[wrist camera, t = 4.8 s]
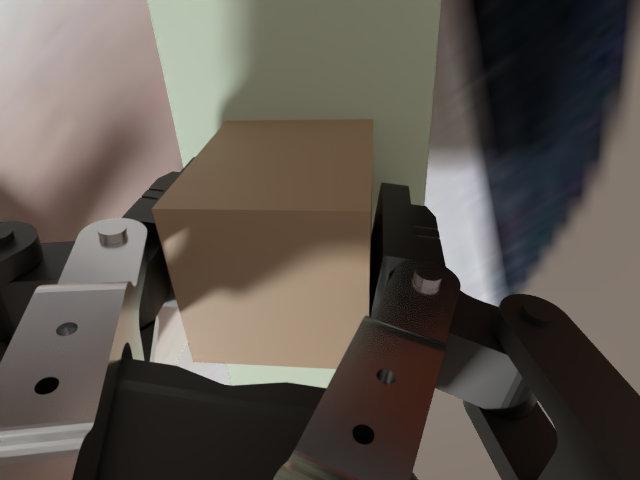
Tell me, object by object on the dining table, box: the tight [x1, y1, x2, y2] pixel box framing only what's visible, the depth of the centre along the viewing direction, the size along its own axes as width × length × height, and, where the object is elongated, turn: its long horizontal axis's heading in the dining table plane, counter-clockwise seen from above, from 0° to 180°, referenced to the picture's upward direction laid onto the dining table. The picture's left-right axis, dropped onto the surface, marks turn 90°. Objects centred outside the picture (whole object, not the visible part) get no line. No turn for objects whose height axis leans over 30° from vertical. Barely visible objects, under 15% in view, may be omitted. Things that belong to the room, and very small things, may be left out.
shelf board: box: [147, 0, 441, 388], centre depth 12 cm, size 18×7×7 cm, turn 2°
